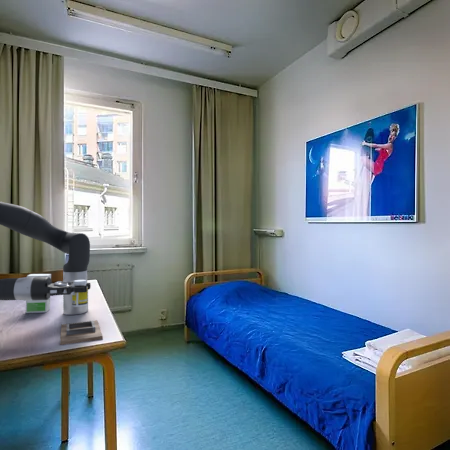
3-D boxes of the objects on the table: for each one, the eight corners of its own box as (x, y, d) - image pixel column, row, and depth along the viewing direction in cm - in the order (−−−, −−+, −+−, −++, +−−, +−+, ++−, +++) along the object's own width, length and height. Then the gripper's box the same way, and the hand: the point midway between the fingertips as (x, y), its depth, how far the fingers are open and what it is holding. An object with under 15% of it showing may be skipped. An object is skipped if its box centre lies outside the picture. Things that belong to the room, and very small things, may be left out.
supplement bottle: (89, 304, 114) (90, 279, 114) (84, 307, 109) (84, 281, 109) (75, 304, 114) (75, 279, 114) (69, 307, 109) (69, 281, 109)
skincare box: (25, 313, 137) (25, 276, 138) (29, 310, 144) (29, 273, 144) (47, 312, 140) (47, 275, 140) (51, 308, 146) (51, 273, 146)
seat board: (61, 327, 118) (61, 320, 118) (97, 322, 123) (97, 316, 123) (60, 345, 100) (60, 336, 100) (102, 339, 105) (102, 331, 105)
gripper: (25, 280, 102) (84, 279, 105) (41, 274, 116) (93, 273, 119) (24, 305, 102) (83, 303, 105) (40, 296, 116) (92, 294, 119)
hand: (88, 287), depth 112 cm, fingers closed on supplement bottle, 4 cm apart
